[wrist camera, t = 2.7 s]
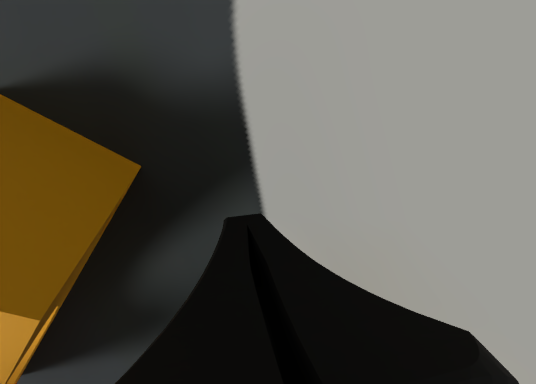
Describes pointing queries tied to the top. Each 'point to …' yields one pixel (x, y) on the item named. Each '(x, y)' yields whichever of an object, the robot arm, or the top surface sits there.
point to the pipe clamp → (47, 222)
